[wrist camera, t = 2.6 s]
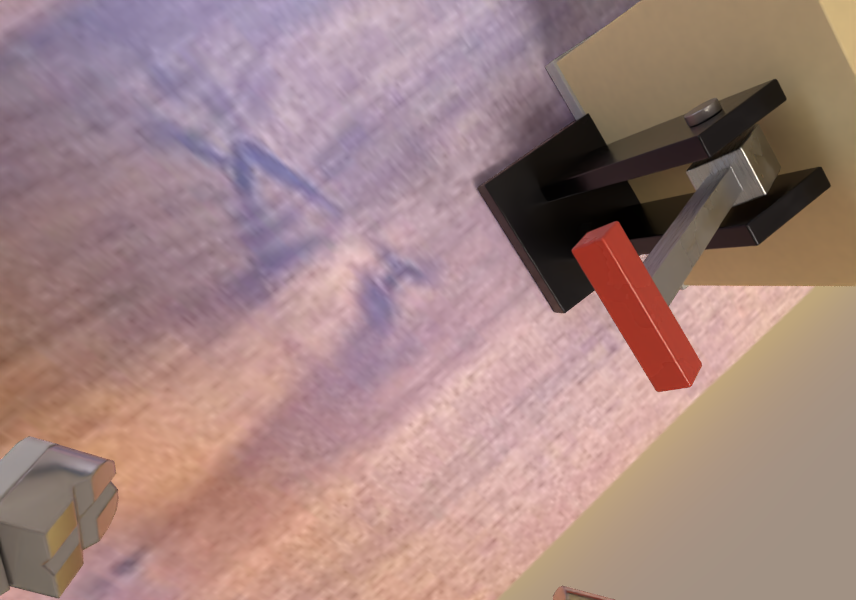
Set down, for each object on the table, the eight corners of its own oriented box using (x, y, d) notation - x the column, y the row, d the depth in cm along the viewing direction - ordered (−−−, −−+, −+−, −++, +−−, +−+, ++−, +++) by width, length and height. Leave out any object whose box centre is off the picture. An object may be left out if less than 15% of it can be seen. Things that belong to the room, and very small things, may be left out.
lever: (639, 396, 20) (710, 385, 18) (554, 256, 19) (619, 230, 17) (743, 219, 28) (799, 200, 27) (686, 115, 27) (740, 88, 26)
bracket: (554, 312, 38) (732, 330, 24) (476, 188, 37) (616, 127, 23) (671, 223, 40) (898, 190, 26) (601, 101, 39) (803, -4, 25)
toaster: (674, 290, 41) (961, 294, 24) (544, 66, 38) (769, -102, 21) (792, 195, 43) (1128, 140, 26) (678, -22, 40) (975, -235, 24)
